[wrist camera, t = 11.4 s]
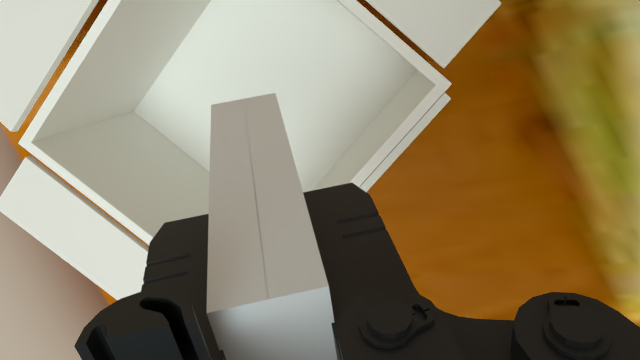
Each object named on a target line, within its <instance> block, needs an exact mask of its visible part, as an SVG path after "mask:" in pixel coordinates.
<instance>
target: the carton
mask: <svg viewBox="0 0 640 360" xmlns="http://www.w3.org/2000/svg"><path fill="white" fill-rule="evenodd" d="M365 1H367V2H368V3H369V4H370V5H371V6H372V7H373V8H375V9H376V10H377V11H378V12H379V13H380V14H381V15H383V16H384V17H385V18H386V19H387V20H388V21H389V22H391V23H392V24H393V25H394V26H395V27H396V28H398V29H399V30H400V31H401V32H402V33H403V34H404V35H406V36H407V37H408V38H409V39H410V40H411V41H412V42H414V43H415V44H416V45H417V46H418V47H419V48H420V49H422V50H423V51H424V52H425V53H426V54H427V55H428V56H430V57H431V58H432V59H433V60H434V61H435V62H436V63H438V64H439V65H440V66H441V67H442V68H445V67H446V66H447V65H448V63H449V62H450V61H451V60H452V59H453V58H454V57H455V56H456V54H457V53H458V52H459V51H460V50H461V49H462V48H463V47H464V45H465V44H466V43H467V42H468V41H469V40H470V39H471V37H472V36H473V35H474V34H475V33H476V32H477V31H478V30H479V28H480V27H481V26H482V25H483V24H484V23H485V22H486V21H487V19H488V18H489V17H490V16H491V15H492V14H493V13H494V12H495V10H496V9H497V8H498V7H499V6H500V5H501V4H502V3H501V2H500V1H499V0H365ZM451 84H452V83H451V82H450V81H448V80H447V79H446V78H445V77H444V76H443V75H442V74H440V73H439V72H438V71H437V70H436V69H435V68H433V67H432V66H431V65H430V64H429V63H428V62H427V61H425V60H424V59H423V58H422V57H421V56H420V55H419V54H417V53H416V52H415V51H414V50H413V49H412V48H411V47H409V46H408V45H407V44H406V43H405V42H404V41H402V40H401V39H400V38H399V37H398V36H397V35H396V34H394V33H393V32H392V31H391V30H390V29H389V28H388V27H386V26H385V25H384V24H383V23H382V22H381V21H380V20H378V19H377V18H376V17H375V16H374V15H373V14H372V13H370V12H369V11H368V10H367V9H366V8H365V7H363V6H362V5H361V4H360V3H359V2H358V1H357V0H108V1H107V3H106V4H105V6H104V7H103V9H102V11H101V12H100V14H99V15H98V17H97V19H96V20H95V22H94V23H93V25H92V27H91V28H90V30H89V31H88V33H87V35H86V36H85V38H84V39H83V41H82V43H81V44H80V46H79V47H78V49H77V50H76V52H75V54H74V55H73V57H72V58H71V60H70V62H69V63H68V65H67V66H66V68H65V70H64V71H63V73H62V74H61V76H60V78H59V79H58V81H57V82H56V84H55V86H54V87H53V89H52V90H51V92H50V94H49V95H48V97H47V98H46V100H45V102H44V103H43V105H42V106H41V108H40V110H39V111H38V113H37V114H36V116H35V118H34V119H33V121H32V122H31V124H30V126H29V127H28V129H27V130H26V132H25V134H24V135H23V137H22V138H21V140H20V141H19V143H18V144H20V145H21V146H22V147H23V148H25V149H26V150H27V151H29V152H30V153H31V154H33V155H34V156H35V157H36V158H38V159H39V160H40V161H42V162H43V163H44V164H45V165H47V166H48V167H49V168H51V169H52V170H53V171H54V172H56V173H57V174H58V175H60V176H61V177H62V178H63V179H65V180H66V181H67V182H69V183H70V184H71V185H72V186H74V187H75V188H76V189H78V190H79V191H80V192H81V193H83V194H84V195H85V196H87V197H88V198H89V199H90V200H92V201H93V202H94V203H96V204H97V205H98V206H99V207H101V208H102V209H103V210H105V211H106V212H107V213H108V214H110V215H111V216H112V217H114V218H115V219H116V220H117V221H119V222H120V223H121V224H123V225H124V226H125V227H126V228H128V229H129V230H130V231H132V232H133V233H134V234H135V235H137V236H138V237H139V238H141V239H142V240H143V241H144V242H146V243H147V244H148V245H149V244H150V242H151V240H152V239H153V237H154V236H155V235H156V233H157V232H158V231H159V229H160V228H161V227H162V225H163V224H164V223H166V222H170V221H175V220H180V219H185V218H190V217H195V216H200V215H205V214H209V176H210V131H211V105H213V104H218V103H223V102H229V101H234V100H239V99H245V98H250V97H255V96H261V95H266V94H272V93H276V96H277V100H278V104H279V107H280V111H281V115H282V118H283V122H284V125H285V129H286V133H287V136H288V140H289V144H290V147H291V151H292V154H293V158H294V162H295V165H296V169H297V173H298V176H299V180H300V184H301V187H302V191H303V192H308V191H313V190H318V189H323V188H328V187H332V186H337V185H342V184H347V183H354V184H355V185H356V186H358V187H359V188H361V189H362V190H364V191H365V192H367V191H368V190H369V189H370V187H371V186H372V185H373V184H374V183H375V182H376V181H377V180H378V179H379V178H380V176H381V175H382V174H383V173H384V172H385V171H386V170H387V169H388V168H389V167H390V165H391V164H392V163H393V162H394V161H395V160H396V159H397V158H398V157H399V156H400V154H401V153H402V152H403V151H404V150H405V149H406V148H407V147H408V146H409V145H410V143H411V142H412V141H413V140H414V139H415V138H416V137H417V136H418V135H419V134H420V132H421V131H422V130H423V129H424V128H425V127H426V126H427V125H428V124H429V123H430V121H431V120H432V119H433V118H434V117H435V116H436V115H437V114H438V113H439V112H440V110H441V109H442V108H443V107H444V106H445V105H446V104H447V103H448V102H449V101H450V99H451V98H450V97H449V96H448V95H447V94H446V93H444V92H445V91H446V90H447V89H448V88H449V86H450V85H451ZM0 211H1V212H2V213H3V214H5V215H6V216H7V217H8V218H10V219H11V220H12V221H14V222H15V223H17V224H18V225H19V226H20V227H22V228H23V229H24V230H26V231H27V232H28V233H30V234H31V235H33V236H34V237H35V238H36V239H38V240H39V241H40V242H41V243H43V244H44V245H45V246H47V247H48V248H49V249H51V250H52V251H53V252H55V253H56V254H57V255H59V256H60V257H61V258H63V259H64V260H65V261H66V262H68V263H69V264H70V265H72V266H73V267H75V268H76V269H77V270H78V271H80V272H81V273H82V274H84V275H85V276H86V277H88V278H89V279H90V280H91V281H93V282H94V283H95V284H97V285H98V286H99V287H101V288H102V289H103V290H105V291H106V292H107V293H109V294H110V295H111V296H113V297H114V298H115V299H116V300H119V299H121V298H124V297H127V296H130V295H133V294H136V293H139V292H141V288H142V285H143V284H144V282H143V277H144V272H145V267H147V264H146V261H147V255H148V250H149V247H148V246H146V245H145V244H144V243H143V242H141V241H140V240H139V239H137V238H136V237H135V236H134V235H132V234H131V233H130V232H128V231H127V230H126V229H124V228H123V227H122V226H121V225H119V224H118V223H117V222H115V221H114V220H113V219H112V218H110V217H109V216H108V215H106V214H105V213H104V212H103V211H101V210H100V209H99V208H97V207H96V206H95V205H94V204H92V203H91V202H90V201H88V200H87V199H86V198H85V197H83V196H82V195H81V194H79V193H78V192H77V191H76V190H74V189H73V188H72V187H70V186H69V185H68V184H67V183H65V182H64V181H63V180H61V179H60V178H59V177H58V176H56V175H55V174H54V173H52V172H51V171H50V170H49V169H47V168H46V167H45V166H43V165H42V164H41V163H39V162H38V161H37V160H36V159H34V158H33V157H32V156H28V157H25V159H24V160H23V162H22V164H21V165H20V167H19V169H18V170H17V172H16V173H15V175H14V176H13V178H12V179H11V181H10V182H9V184H8V186H7V187H6V189H5V190H4V192H3V194H2V195H1V197H0Z"/></svg>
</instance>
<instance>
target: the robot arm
mask: <svg viewBox="0 0 640 360" xmlns="http://www.w3.org/2000/svg"><path fill="white" fill-rule="evenodd" d="M146 264H147V267H145V272H144V277H143V282H144V284H143V285H142V288H141V292H139V293H136V294H133V295H130V296H127V297H124V298H121V299H119V300H118V301H116V302H115V303H113V304H111V305H110V306H108V307H106V308H105V309H103V310H102V311H100V312H99V313H98V314H97V315H96V316H95V317H94V318H93V319H92V320H91V322H89V323H88V324H87V325H86V327H84V329H83V331H82V333H81V335H80V336H79V338H78V340H77V342H76V344H75V348H76V350H77V351H78V353H79V355H80V357H81V358H82V360H640V328H639V327H638V326H637V325H635V324H634V323H633V322H631V321H630V320H629V319H627V318H626V317H625V316H623V315H622V314H621V313H619V312H618V311H616V310H615V309H613V308H611V307H609V306H607V305H606V304H604V303H602V302H600V301H599V300H597V299H593V298H590V297H586V296H583V295H579V294H576V293H559V292H551V293H547V294H543V295H539V296H536V297H532V298H531V299H530V300H528V301H527V302H526V303H525V304H523V305H522V306H521V307H519V309H518V312H517V314H516V317H515V319H514V321H512V320H488V319H472V318H465V317H458V316H455V315H452V314H449V313H446V312H443V311H441V310H439V309H438V308H436V307H435V306H434V304H433V303H432V302H431V301H430V300H428V299H426V298H425V297H423V296H421V295H420V294H419V293H418V291H417V290H416V288H415V287H414V285H413V283H412V281H411V279H410V277H409V275H408V273H407V271H406V269H405V266H404V264H403V262H402V260H401V258H400V256H399V254H398V252H397V250H396V248H395V246H394V244H393V242H392V240H391V238H390V235H389V233H388V231H387V230H386V229H385V225H384V223H383V221H382V219H381V217H380V216H379V214H378V211H377V209H376V207H375V204H374V202H373V200H372V198H371V196H370V195H369V194H368V193H366V192H365V191H364V190H362V189H361V188H359V187H358V186H356V185H355V184H354V183H347V184H342V185H337V186H332V187H328V188H323V189H318V190H313V191H308V192H303V191H302V187H301V184H300V180H299V176H298V173H297V169H296V165H295V162H294V158H293V154H292V151H291V147H290V144H289V140H288V136H287V133H286V129H285V125H284V122H283V118H282V115H281V111H280V107H279V104H278V100H277V96H276V93H272V94H266V95H261V96H255V97H250V98H245V99H239V100H234V101H229V102H223V103H218V104H213V105H211V131H210V176H209V214H205V215H200V216H195V217H190V218H185V219H180V220H175V221H170V222H166V223H164V224H163V225H162V227H161V228H160V229H159V231H158V232H157V233H156V235H155V236H154V237H153V239H152V240H151V242H150V244H149V250H148V255H147V261H146Z"/></svg>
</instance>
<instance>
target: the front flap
mask: <svg viewBox="0 0 640 360" xmlns="http://www.w3.org/2000/svg"><path fill="white" fill-rule="evenodd" d="M98 1H99V0H0V122H1V123H2V124H3V125H4V126H5V127H7V128H8V129H9V130H10V131H11V132H15V131H18V130H19V128H20V127H21V125H22V124H23V122H24V120H25V119H26V117H27V115H28V114H29V112H30V111H31V109H32V107H33V106H34V104H35V103H36V101H37V99H38V98H39V96H40V95H41V93H42V91H43V90H44V88H45V86H46V85H47V83H48V82H49V80H50V78H51V77H52V75H53V74H54V72H55V70H56V69H57V67H58V66H59V64H60V62H61V61H62V59H63V57H64V56H65V54H66V53H67V51H68V49H69V48H70V46H71V45H72V43H73V41H74V40H75V38H76V37H77V35H78V33H79V32H80V30H81V28H82V27H83V25H84V24H85V22H86V20H87V19H88V17H89V16H90V14H91V12H92V11H93V9H94V7H95V6H96V4H97V3H98Z"/></svg>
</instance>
